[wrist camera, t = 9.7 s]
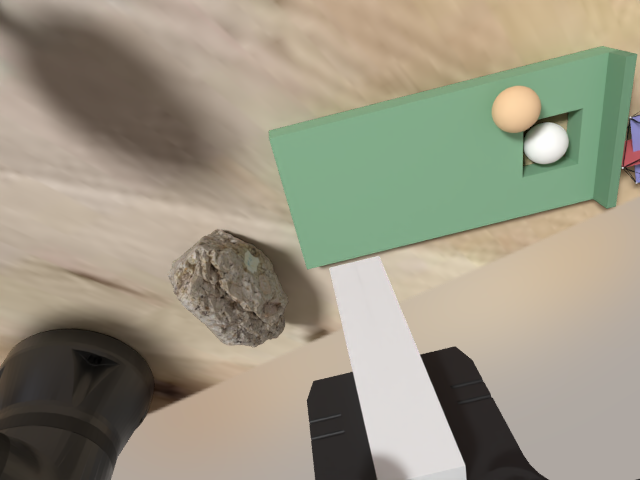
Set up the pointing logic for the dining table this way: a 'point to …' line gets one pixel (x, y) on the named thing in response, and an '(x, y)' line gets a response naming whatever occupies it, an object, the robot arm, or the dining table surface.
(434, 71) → the dining table surface
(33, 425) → the robot arm
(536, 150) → the white ball
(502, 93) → the orange ball
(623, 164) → the geometric puzzle
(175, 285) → the rock
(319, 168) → the putting mat
